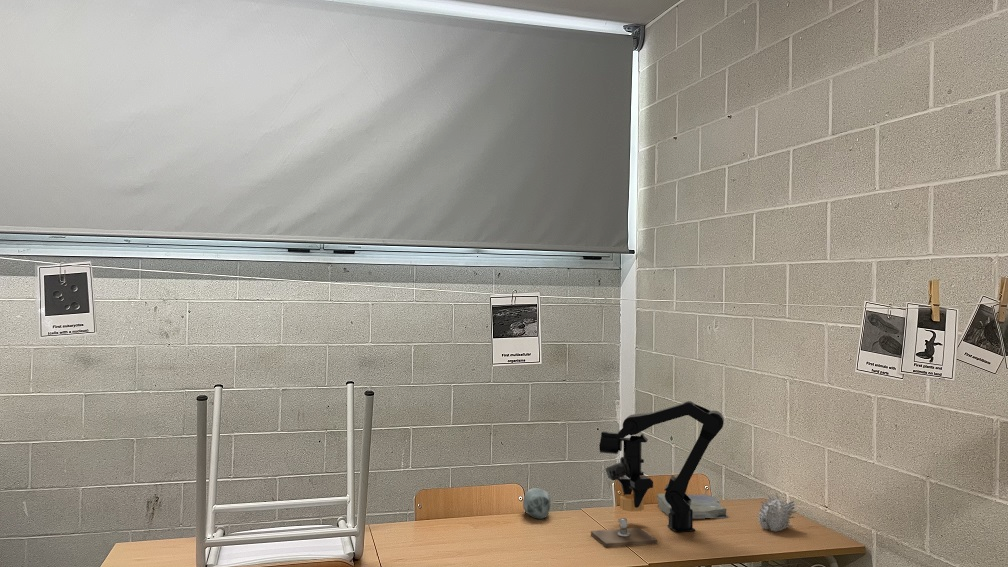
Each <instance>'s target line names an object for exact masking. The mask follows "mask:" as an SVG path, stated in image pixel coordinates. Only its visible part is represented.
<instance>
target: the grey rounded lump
mask: <svg viewBox="0 0 1008 567" xmlns="http://www.w3.org/2000/svg"><path fill="white" fill-rule="evenodd" d="M522 500H523V501H522V507H523V510H524V511H525V513H527V515H529V516H531V517H532V518H535V519H538V520H542V519H546V517H547V516H548V515H549V512H550V511H551V496H550V494H549V493H548V492H547V491H545V490H544V489H542V488H538V487H533V488H530V489H529V490H527V491H526V492H525V494H524V496H523V499H522Z"/></svg>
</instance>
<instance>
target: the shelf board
mask: <svg viewBox="0 0 1008 567" xmlns="http://www.w3.org/2000/svg"><path fill="white" fill-rule="evenodd" d="M618 532H620V528H618V529H617V528H616V529H615V528H614V529H603V530H601V529H600V530H591V531H590V536H592V537H593V538H594V539H595V540H596V541H597V542H599V543H600V544H601V545H602V546H603V547H604V548H606V549H607V548H609V549H610V548H620V547H621V548H622V547H633V546H637V547H638V546H648V545H658V539H657V538H655V537H654V536H652V535H651V534H649V533H648V532H647V531H645V530H644V529H642V528H641V527H633V528H631V527H630V528H627V532H628V533H630V536H629V537H619V536H618V535H617V533H618Z"/></svg>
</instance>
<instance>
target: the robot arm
mask: <svg viewBox="0 0 1008 567" xmlns="http://www.w3.org/2000/svg"><path fill="white" fill-rule="evenodd" d="M685 416H689V417H691V418H692V419H693V420H695V421H697V422H699V423H701V424H702V426H701V429H700V432H699V435H698V438H697V439H696V441H695V443H694V445H693V447H692V449H691V451H690V452H689V455H688V457H687V458H686V460H685V461H684V463H683V465H682V468H681V469H680V471H679V473H678V474H677V475H676V476H674V475H673V474H671V476H670V479H669V481H668V483H667V484H666V485H665V487H664V491H665V492H664V494H665V499H666V501H667V503H669V504H670V505H671V508H670V513H669V516H668V524H667V527H668V528H669V529H671V530H672V531H674V532H675V533H676V532H677V533H682V532H685V533H686V532H696V529H695V528H694V527H693V526H694V525H693V522H694V520H693V510H692V509H691V508H690V506H691V502H692V500H691V499H690V498H689V497H688V496H687V495H688V494H687V488H688V485H689V482H690V480H691V478H692V477H693V474H694V473H695V471H696V469H697V467H698V466H699V463H700V461H701V460H702V458H703V455H704V454H705V452H706V450H707V449H708V447H709V445H710V443H711V442H712V441H713V440H714V439H715V438H716V436H718V434H719V432H721V430H722V429H723V427H724V425H725V424H724V423H725V419H724V418H725V417H724V415H723V414H722V413H721V412H720V411H718V410H709V409H707V408H705V407H703V406H701V405H698V404H696V403H694V402H693V401H691V400H686V401H684V402H682V403H679V404H676V405H673V406H669V407H666V408H663V409H659V410H656V411H652V412H647V413H645V412H644V413H634V414H630V415H628V416H627V417H626V418H625V419H624V420H623V422H622V429H619V430H618V431H617V432H609V431H604V430H603V431H602V432H601V433H600V440H599V445H598V446H599V453H600V454H612V455H619V452H622V451H623V456H621V457H620V459H619V460H620V461H619V462H617V463H614V464H611V465H609V466H607V467H605V471H606V475H607V477H608V479H610V480H611V481H618V483H620V485H621V489H622V492H623V495H626V494H633V497H634V505H635V507H636V508H638V507H639V505H640V503H641V501H642V499H643V498H645V495H646V494H647V492H648V490H650V489H653V488H654V481H653V480H652V479H651V477H649V476H647V475H645V474H644V473H645V472H644V471H642V463H644V462H645V459H643V458H642V445H643V444H642V443H647V442H648V441H649V439H648V437H646V436H645V435H644V433H641V432H644V431H646V430H647V429H649V428H650V427H652V426H655V425H659V424H661V423H667V422H668V421H671V420H675V419H679V418H682V417H685ZM637 434H640V435H637ZM627 436H630V437H627Z"/></svg>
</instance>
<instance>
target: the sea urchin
mask: <svg viewBox="0 0 1008 567" xmlns="http://www.w3.org/2000/svg"><path fill="white" fill-rule="evenodd" d="M775 496H776V499H775V498H774V495H772V496H770V495H767V497H768V499H769V500H768V501H767V500H765V501H760V503H761V506H760V508H758V510H759V511H760V512H759V513H758V514H756V517H758V518H757V520H758V523H759V525H760V527H762V529H763V528H764V529H765V530H770V531H771V532H774V533H775V532H779V531H780V532H781V531H783V530H785V529H787V528H788V527H789V528H790V527H794V526H793V525H791V524H790V523H791V522H790V521H791V519H793V518H796V516H793V514H794V513H797V512H798V510H794V509H795V503H794V502H795V501H794V500H792V501H789V502H788V503H787V502H786V499H784V500H781V499H780V498H781V496H779V495H778V493H777V492H775ZM785 502H786V503H785Z"/></svg>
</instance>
